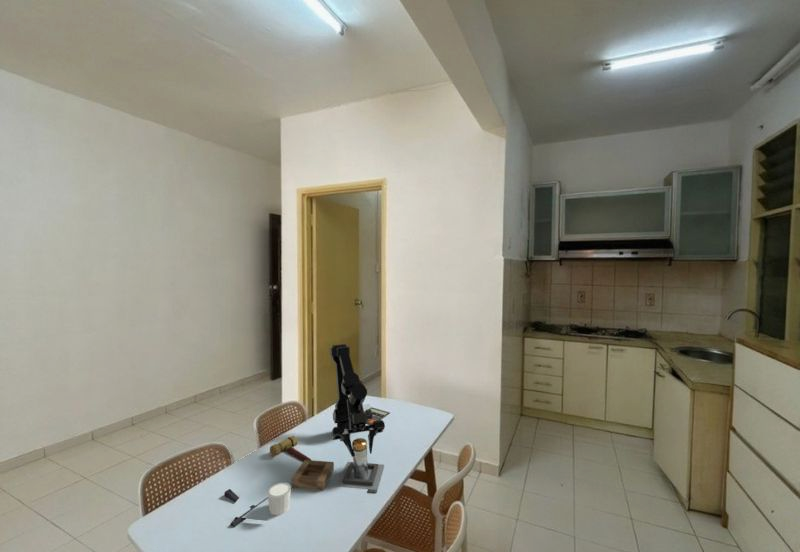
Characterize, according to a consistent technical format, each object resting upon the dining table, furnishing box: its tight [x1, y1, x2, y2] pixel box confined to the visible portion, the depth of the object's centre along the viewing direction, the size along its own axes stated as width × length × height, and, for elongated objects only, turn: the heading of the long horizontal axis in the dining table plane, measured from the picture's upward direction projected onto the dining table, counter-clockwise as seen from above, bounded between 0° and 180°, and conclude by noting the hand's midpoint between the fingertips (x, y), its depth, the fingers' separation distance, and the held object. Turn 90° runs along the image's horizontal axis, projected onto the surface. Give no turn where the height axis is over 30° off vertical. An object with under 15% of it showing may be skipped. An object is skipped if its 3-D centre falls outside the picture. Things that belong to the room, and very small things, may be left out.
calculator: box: [364, 407, 391, 425], centre depth 170 cm, size 12×1×15 cm
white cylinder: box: [267, 482, 292, 516], centre depth 106 cm, size 7×7×7 cm
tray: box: [335, 461, 385, 493], centre depth 123 cm, size 14×14×2 cm
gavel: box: [269, 435, 312, 463], centre depth 135 cm, size 21×5×10 cm
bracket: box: [224, 488, 268, 528], centre depth 110 cm, size 14×15×3 cm
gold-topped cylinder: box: [351, 437, 369, 479], centre depth 122 cm, size 5×5×12 cm
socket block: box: [291, 459, 335, 491], centre depth 121 cm, size 11×11×4 cm
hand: (361, 455), depth 121 cm, fingers open, 6 cm apart
